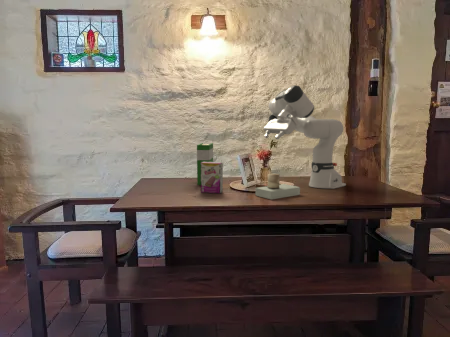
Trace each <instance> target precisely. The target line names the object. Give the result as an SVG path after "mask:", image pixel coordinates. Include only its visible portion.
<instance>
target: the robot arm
mask: <svg viewBox="0 0 450 337" xmlns="http://www.w3.org/2000/svg"><path fill="white" fill-rule="evenodd" d="M268 110H269V111H270V113H271V114H270V115H269V117H268V120H267V124H266V125H265V126H264V127H263V130H264V132H265V134H264V135H263V137H264V139H268V138H269V137H270V135H271V134H276V135H275V137H274V138H275V139H276V140H280V138H282V137H284V136H285V135H291V134H292V133H293V132H294V130H295V131H296V132H299V133H303V134H304V136H305V138H310V139H315V140H316V139H317V140H318V139H319V142H318V143H317V144H316V145H315V146H314V147H313V148H312V162H311V172H310V179H309V182H308V187H311V188H315V189H317V188H318V189H338V188H342V187H345V186H346V185H347V184H346V182H345V183H344V182H343V181H342V180H343V178H342V174H340V173H339V172H338V171H337V170H336V169H335V167H337V166H338V163H337V162H333V154H334V148H335V144H336V142H337V140H338V139H339V138H340V137H341V135H342V134H343V132H344V124H343V123H342V121H340V120H337V119H334V118H316V117H315V116H313V115H312V114H313V113H314V110H315V105H314V104H313V102H312V101H311V99H310V98H309V97H308V96H307V94H305V92H304V91H303V89H302V88H301V86H299V85H291V86H290V87H289V88H286V89H284V90H282V91H279V93H277V95H276V96H275V97H273V98H272V99H270V101H269V102H268Z"/></svg>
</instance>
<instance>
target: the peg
mask: <svg viewBox="0 0 450 337" xmlns="http://www.w3.org/2000/svg"><path fill="white" fill-rule="evenodd" d="M280 177H281V176H280V174H279V173H268V174H267V186H268V188H269V189H279V185H280Z"/></svg>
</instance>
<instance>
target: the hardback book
mask: <svg viewBox="0 0 450 337" xmlns="http://www.w3.org/2000/svg"><path fill="white" fill-rule="evenodd" d="M201 162H214V143H213V142H211V143H210V144H208V143H203V142H200V143H199V144H196V172H197V174H196V175H197V176H196V178H197V179H196V180H197V181H196V183H197V184H196V185H197V186H201Z"/></svg>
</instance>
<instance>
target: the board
mask: <svg viewBox="0 0 450 337" xmlns="http://www.w3.org/2000/svg"><path fill="white" fill-rule="evenodd" d="M300 195H301V187H300V186H296V185H290V184H286V183H281V184H280V183H279V189H269V188H268V185H267V186H260V187H255V196H257V197H260V198H264V199H268V200H276V199H282V198H287V197H288V198H289V197H293V196H294V197H295V196H300Z"/></svg>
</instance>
